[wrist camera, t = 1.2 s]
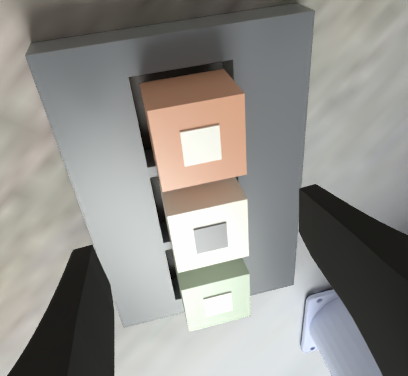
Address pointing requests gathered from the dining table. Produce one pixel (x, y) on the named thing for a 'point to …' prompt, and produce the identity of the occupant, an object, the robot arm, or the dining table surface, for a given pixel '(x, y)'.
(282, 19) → the keypad
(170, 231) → the key ivory
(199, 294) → the key sage
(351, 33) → the dining table surface
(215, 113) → the key peach
